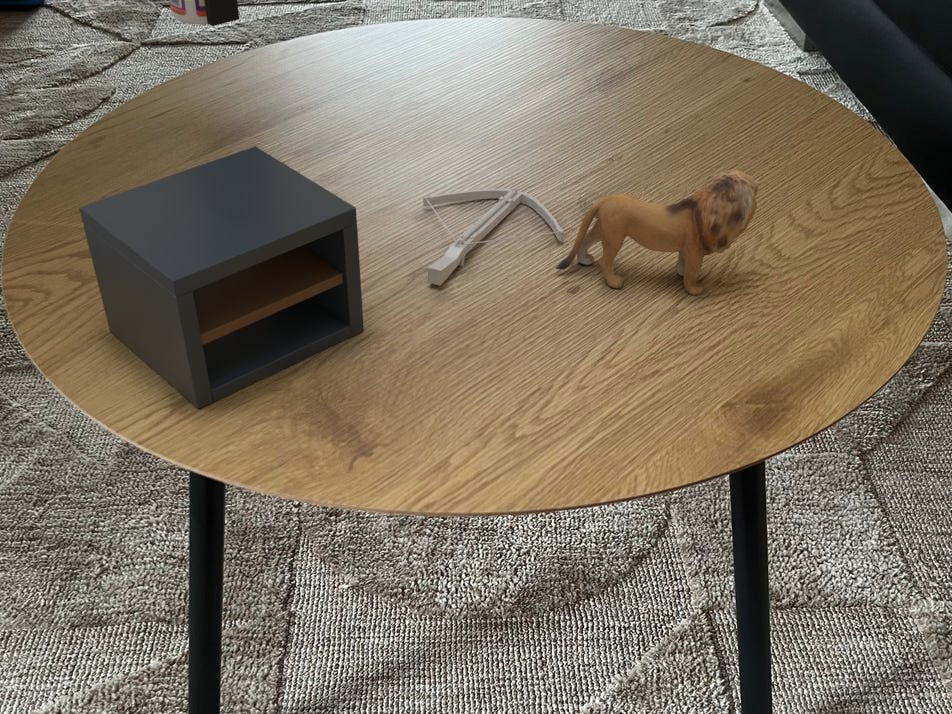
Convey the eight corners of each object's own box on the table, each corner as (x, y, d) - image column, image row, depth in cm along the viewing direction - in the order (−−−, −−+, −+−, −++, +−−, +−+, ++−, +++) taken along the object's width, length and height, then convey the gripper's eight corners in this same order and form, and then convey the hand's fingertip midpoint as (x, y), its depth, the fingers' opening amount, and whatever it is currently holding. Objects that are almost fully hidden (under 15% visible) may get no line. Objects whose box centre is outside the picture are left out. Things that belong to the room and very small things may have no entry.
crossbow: (452, 191, 98) (452, 169, 96) (584, 223, 94) (586, 201, 93) (362, 265, 86) (361, 242, 85) (508, 306, 83) (510, 282, 81)
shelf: (109, 331, 80) (78, 206, 73) (270, 264, 87) (255, 145, 80) (198, 409, 73) (173, 281, 66) (364, 330, 80) (356, 207, 73)
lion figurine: (735, 261, 88) (756, 157, 82) (747, 298, 84) (770, 191, 78) (553, 257, 88) (561, 153, 82) (556, 294, 84) (565, 186, 78)
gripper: (275, -302, 77) (301, 32, 93) (141, -332, 87) (185, -26, 103) (182, -294, 73) (225, 53, 89) (53, -327, 83) (113, -9, 99)
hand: (204, 10), depth 96 cm, fingers closed on pill bottle, 5 cm apart
